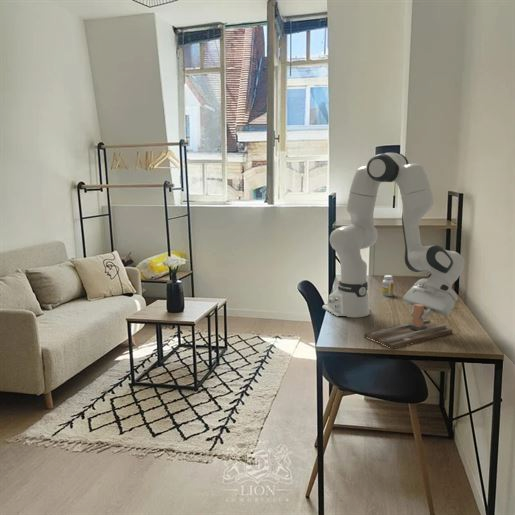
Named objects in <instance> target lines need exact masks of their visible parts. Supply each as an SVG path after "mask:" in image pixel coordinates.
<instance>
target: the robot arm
mask: <svg viewBox="0 0 515 515" xmlns="http://www.w3.org/2000/svg"><path fill="white" fill-rule="evenodd" d="M382 183H396V185H397V186H398V190H399V194H400V196H401V198H400V199H401V201H402V203H401V204H402V213H401V223H402V224H401V226H402V231H403V239H404V247H405V249H404V250H405V251H404V263H405V265H406V267H407V268H408V270H410V271H411V272H413V273H420V272H425V271H426V272H427V271H429V273H430V275H429V277H428V278H429V279H428V280H427V282H426V283H425V285H420V284H417V285H415V286H414V285H413V286H411V287H410V289H409V290H408V291H407V292H406V293H405V294H404V296H403V297H402V298H403V301H404V303H405V304H406V305H409V306H412V311H410V317H413V305H415V304H420V305H424V314H422V313H421V315H420V318H421V319H422V320H427V318H429V317H430V316H431V315H433V314H434V313H435V314H438V315H441V316H444V317H446V316H448V315H450V314H451V312H452V311H453V309H454V307H455V305H456V302H457V301H458V299H459V296H458V294H457V292H455V290H454V289H453V288H452V286H453V284H454V283H455V282H456V281H457V280H458V279H459V277H460V276H461V274H462V272H463V270H464V268H465V262H466V261H465V259H464V257H463V256H462V255H461V254H460V253H459V252H457V251H454V250H447V249H445V248H444V247H443V246H441V245H438V244H434V245H432V244H431V245H426V246H425V245H424V246H423V245H422V241H421V235H420V222H421V220H422V218H423V217H424V216H426V214H428V212H429V211H430V210H431V209H432V206H433V203H434V198H433V192H432V188H431V184H430V181H429V177H428V175H427V173H426V171H425V169H424V167H423V166H422V165H421V164H419V163H416V162H415V163H409V160H408V159H407V157H406V156H405V155H403V153H399V152H385V153H378V154H375V155H373V156H372V157H371V158H370V159H369V160H368V162H367V165H363V166H360V167H358V168H357V169H356V171H355V173H354V175H353V178H352V181H351V184H350V189H349V195H348V200H347V204H346V210H347V212H348V214H350V224H348V225H342V226H340V227H338V228H335V229H334V230H332V231H331V233H330V235H329V244H330V246H331V248H332V249H333V250H335V252H336V254H337V257H338V258H339V259H338V260H339V264H340V281H339V280H338V282H336V285H338V286H337V289H336V290H334V291H333V292H331V293H330V294H329V295H328V297H327V303H326V304H323V305H322V309H323V310H325V311H327V312H328V311H329V313H330V312H331V313H330V314H331V315H333V314H334V315H333V316H335V315H336V316H335V317H338V316H347V317H346V318H363V317H367V316H369V315H370V314H371V313H370V311H371V307H370V306H369V305H370V304H369V294H368V287H369V286H368V285H369V284H368V283H369V282H368V281H367V278H368V277H367V274H368V272H367V271H368V265H367V263H366V262H365V260H363V258H362V255H361V250H364V249H368V248H369V247H371V246H374V245H375V244H376V243H377V241H378V239H379V233H378V230H377V228H376V227H375V224H374V213H375V212H374V210H375V206H376V201H377V197H378V191H379V188H380V187H379V186H380V185H381V184H382Z"/></svg>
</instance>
